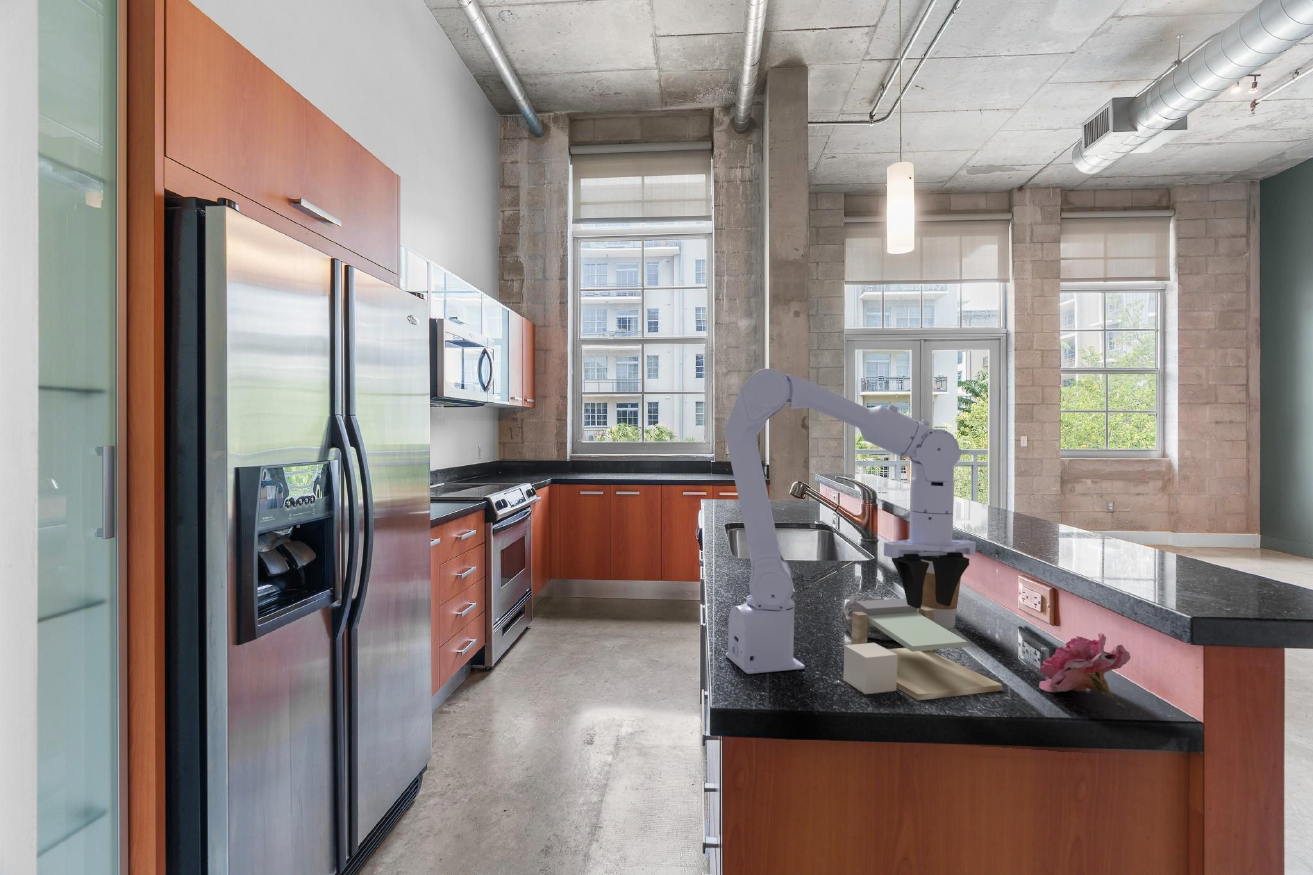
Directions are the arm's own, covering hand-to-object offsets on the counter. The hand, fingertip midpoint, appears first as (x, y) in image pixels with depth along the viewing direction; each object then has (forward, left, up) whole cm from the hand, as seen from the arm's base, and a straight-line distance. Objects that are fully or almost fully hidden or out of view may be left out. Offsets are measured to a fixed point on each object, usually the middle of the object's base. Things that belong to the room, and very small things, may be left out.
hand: (928, 605), depth 90 cm
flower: (+16, -10, -11) cm, 22 cm away
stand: (0, +3, -10) cm, 11 cm away
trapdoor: (0, +4, -6) cm, 7 cm away
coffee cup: (+21, +22, -11) cm, 32 cm away
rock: (+7, +19, -11) cm, 23 cm away
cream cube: (-10, 0, -10) cm, 15 cm away
